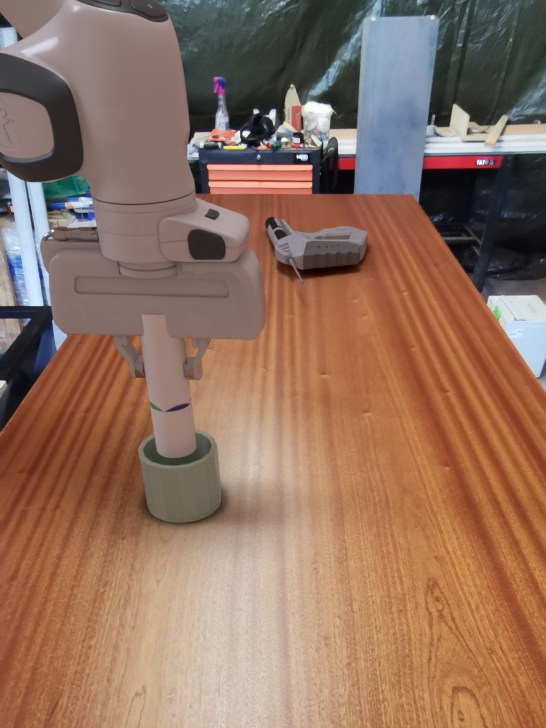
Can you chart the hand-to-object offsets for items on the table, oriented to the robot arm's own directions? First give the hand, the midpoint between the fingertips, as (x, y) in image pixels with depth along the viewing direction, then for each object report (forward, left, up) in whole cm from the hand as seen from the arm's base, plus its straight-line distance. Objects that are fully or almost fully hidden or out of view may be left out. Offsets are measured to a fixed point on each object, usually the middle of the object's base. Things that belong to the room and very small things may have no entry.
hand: (167, 376), depth 74 cm
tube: (0, 0, -8) cm, 8 cm away
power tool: (+9, +83, -15) cm, 85 cm away
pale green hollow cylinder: (0, 0, -15) cm, 15 cm away
